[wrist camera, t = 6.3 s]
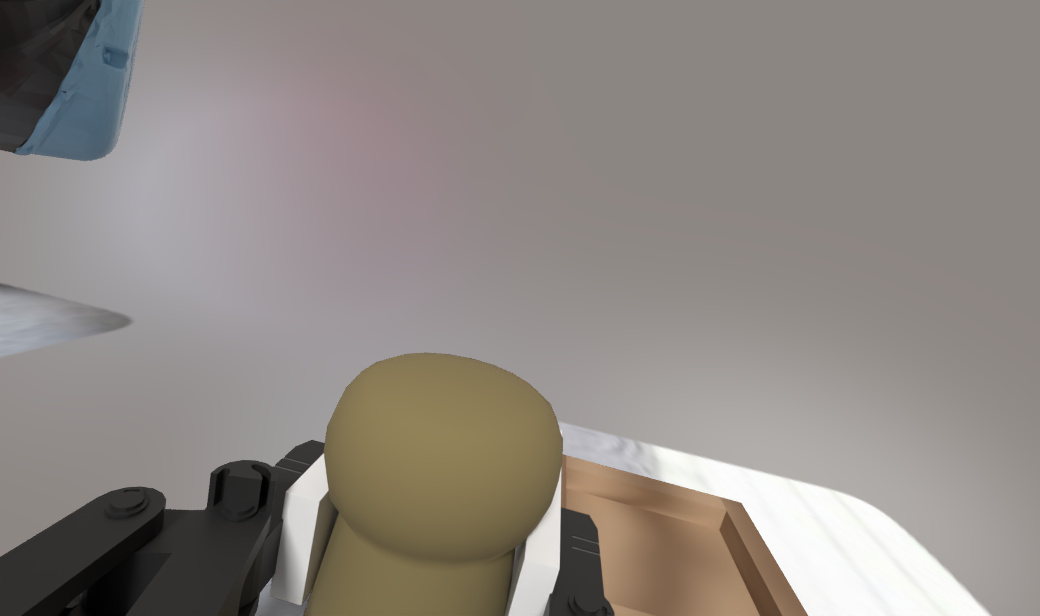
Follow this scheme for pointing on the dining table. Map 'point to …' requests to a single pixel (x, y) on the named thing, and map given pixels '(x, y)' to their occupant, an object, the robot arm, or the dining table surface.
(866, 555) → the dining table surface
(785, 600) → the tray
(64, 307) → the dining table surface
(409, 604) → the cork
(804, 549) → the dining table surface
